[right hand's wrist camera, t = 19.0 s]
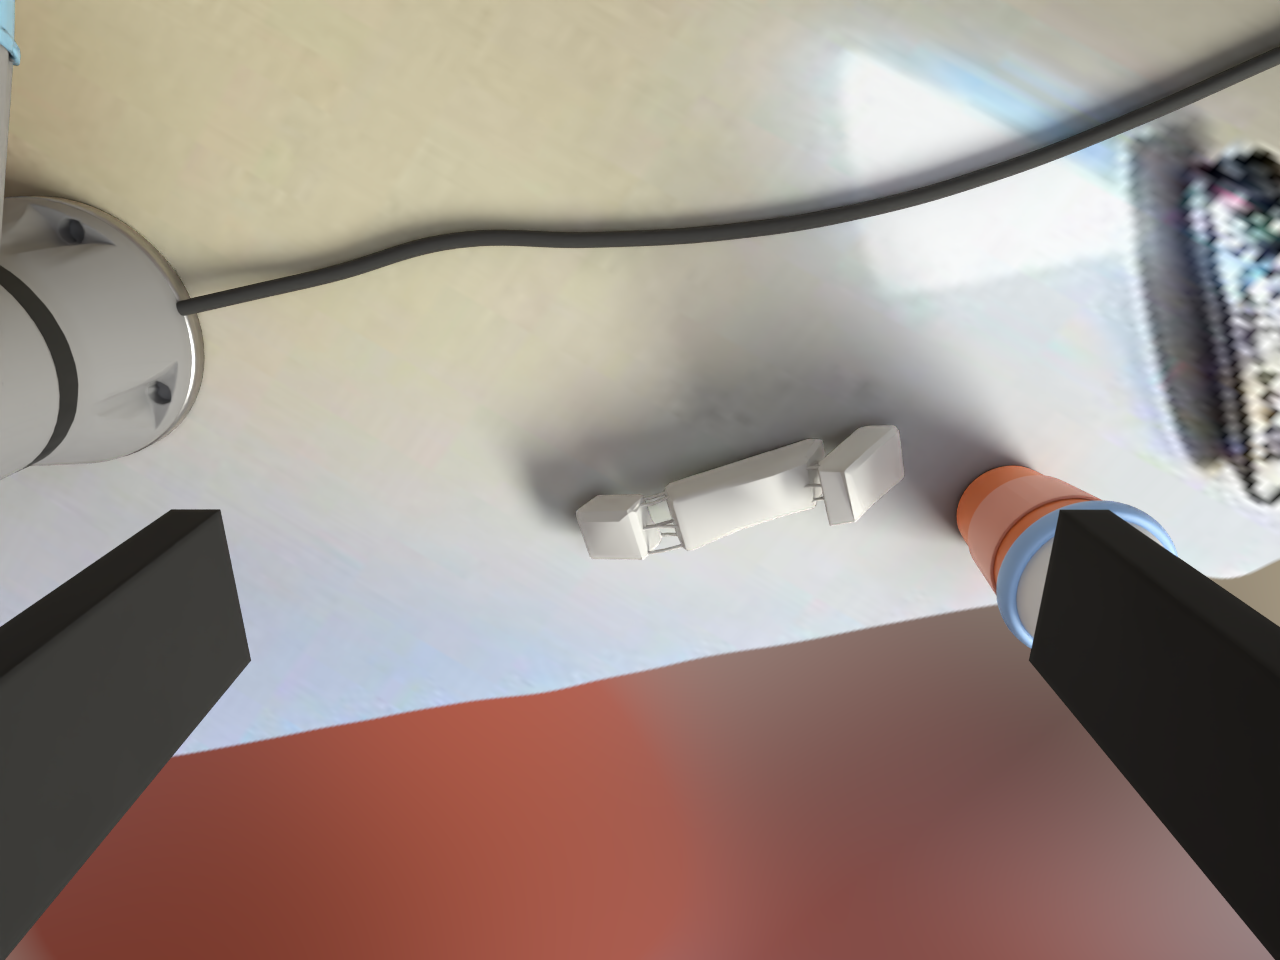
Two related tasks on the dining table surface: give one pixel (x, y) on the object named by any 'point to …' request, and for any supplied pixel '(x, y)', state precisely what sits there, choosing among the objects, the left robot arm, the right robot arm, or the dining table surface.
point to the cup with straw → (1027, 535)
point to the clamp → (750, 495)
